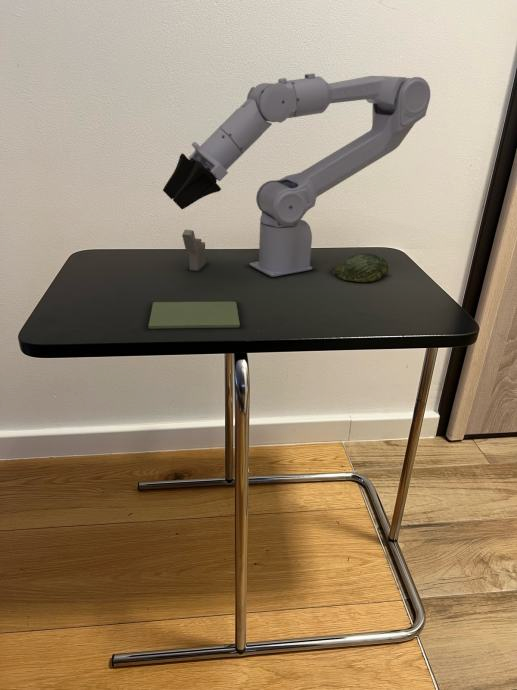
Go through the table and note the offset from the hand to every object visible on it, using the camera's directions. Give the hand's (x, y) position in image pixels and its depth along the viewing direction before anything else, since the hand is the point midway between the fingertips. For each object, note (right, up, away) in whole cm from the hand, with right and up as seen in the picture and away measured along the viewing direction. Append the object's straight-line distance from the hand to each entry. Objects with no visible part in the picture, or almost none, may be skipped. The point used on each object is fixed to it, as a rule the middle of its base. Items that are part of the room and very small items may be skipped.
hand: (171, 199), depth 91 cm
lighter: (+3, -10, +11) cm, 15 cm away
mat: (+5, -20, -9) cm, 23 cm away
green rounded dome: (+34, -11, +11) cm, 37 cm away
